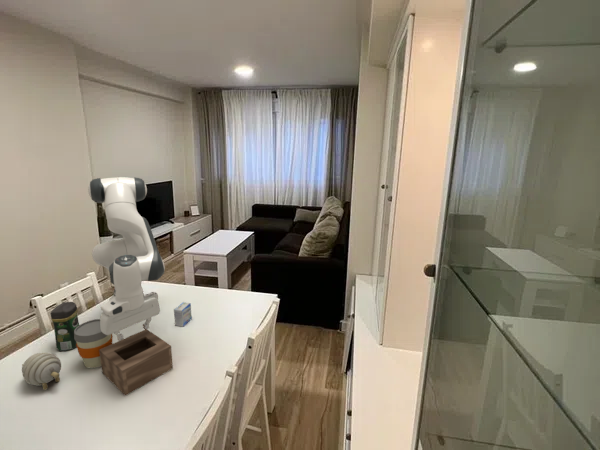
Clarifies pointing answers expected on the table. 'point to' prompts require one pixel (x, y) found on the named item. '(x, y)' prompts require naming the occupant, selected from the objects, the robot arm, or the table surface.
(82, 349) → the reusable coffee cup
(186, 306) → the medicine box
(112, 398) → the table surface
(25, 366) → the toy sheep
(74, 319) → the coffee jar
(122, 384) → the box
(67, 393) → the table surface
